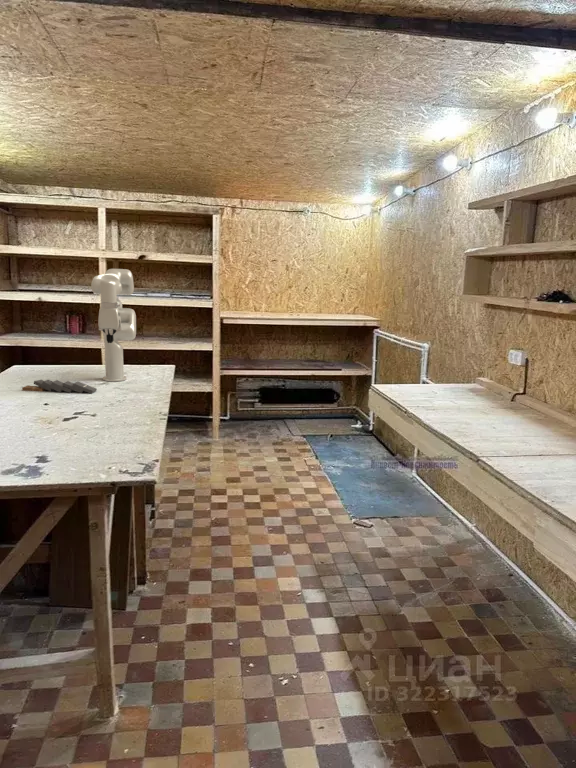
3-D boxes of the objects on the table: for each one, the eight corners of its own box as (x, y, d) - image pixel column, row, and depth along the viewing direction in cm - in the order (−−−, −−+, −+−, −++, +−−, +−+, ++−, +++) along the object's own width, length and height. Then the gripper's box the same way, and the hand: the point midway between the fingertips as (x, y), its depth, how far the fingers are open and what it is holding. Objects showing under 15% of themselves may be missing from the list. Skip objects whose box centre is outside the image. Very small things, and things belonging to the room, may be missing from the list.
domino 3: (60, 392, 249) (41, 384, 249) (65, 390, 254) (47, 382, 254) (61, 389, 248) (42, 381, 249) (66, 387, 253) (48, 379, 253)
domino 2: (50, 391, 249) (33, 384, 251) (57, 389, 254) (40, 382, 256) (51, 388, 249) (34, 380, 251) (58, 386, 254) (41, 379, 256)
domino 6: (91, 393, 249) (72, 386, 248) (95, 391, 254) (76, 384, 253) (92, 390, 249) (73, 383, 248) (96, 388, 253) (77, 381, 253)
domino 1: (42, 392, 249) (22, 390, 250) (47, 389, 254) (28, 388, 255) (42, 388, 249) (22, 387, 249) (47, 386, 254) (27, 385, 254)
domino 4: (69, 393, 249) (50, 384, 248) (74, 390, 253) (56, 382, 253) (70, 390, 248) (51, 381, 248) (75, 387, 253) (57, 379, 253)
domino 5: (81, 393, 249) (62, 385, 249) (86, 391, 254) (66, 383, 253) (82, 390, 249) (63, 382, 248) (87, 388, 254) (67, 380, 253)
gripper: (126, 305, 256) (127, 342, 260) (96, 304, 256) (97, 340, 260) (121, 307, 249) (122, 344, 253) (91, 305, 249) (92, 343, 253)
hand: (110, 342), depth 257 cm, fingers closed
